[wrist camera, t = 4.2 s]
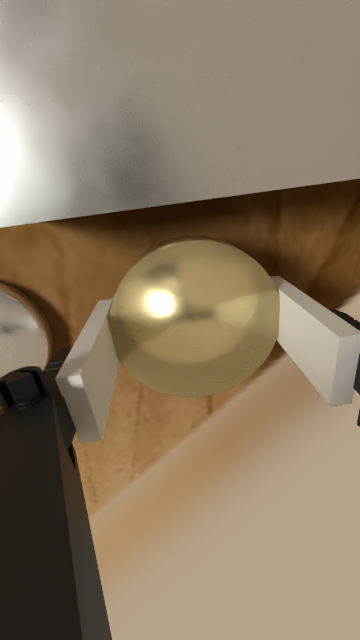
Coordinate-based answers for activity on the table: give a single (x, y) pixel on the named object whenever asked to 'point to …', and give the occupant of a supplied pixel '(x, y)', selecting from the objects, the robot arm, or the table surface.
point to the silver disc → (22, 332)
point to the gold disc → (194, 317)
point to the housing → (172, 102)
